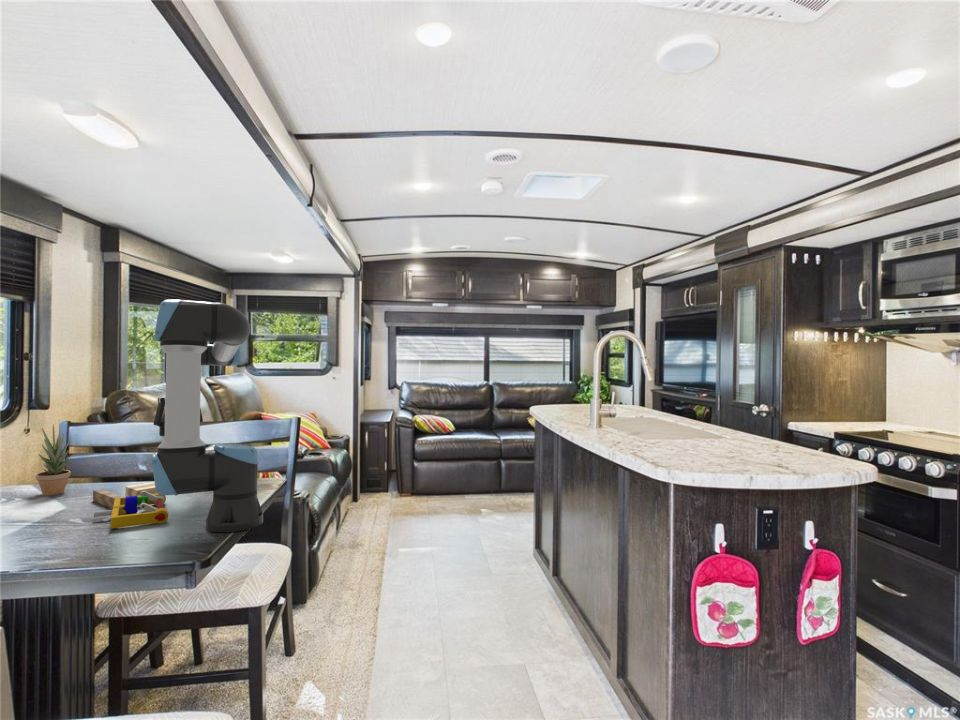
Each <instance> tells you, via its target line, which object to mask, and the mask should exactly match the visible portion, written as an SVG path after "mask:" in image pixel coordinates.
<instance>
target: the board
mask: <svg viewBox="0 0 960 720" xmlns="http://www.w3.org/2000/svg"><path fill="white" fill-rule="evenodd" d="M120 498H125V496H121V495H119V494H116V493H113V492H111V491H107V490H105V489H103V488H98V489H93V491H92V501H93V502H95V503H97V504H100V505H102V506H105V507H108V508H109V509H111V510H113V505H114V501H115V499H120Z"/></svg>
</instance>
